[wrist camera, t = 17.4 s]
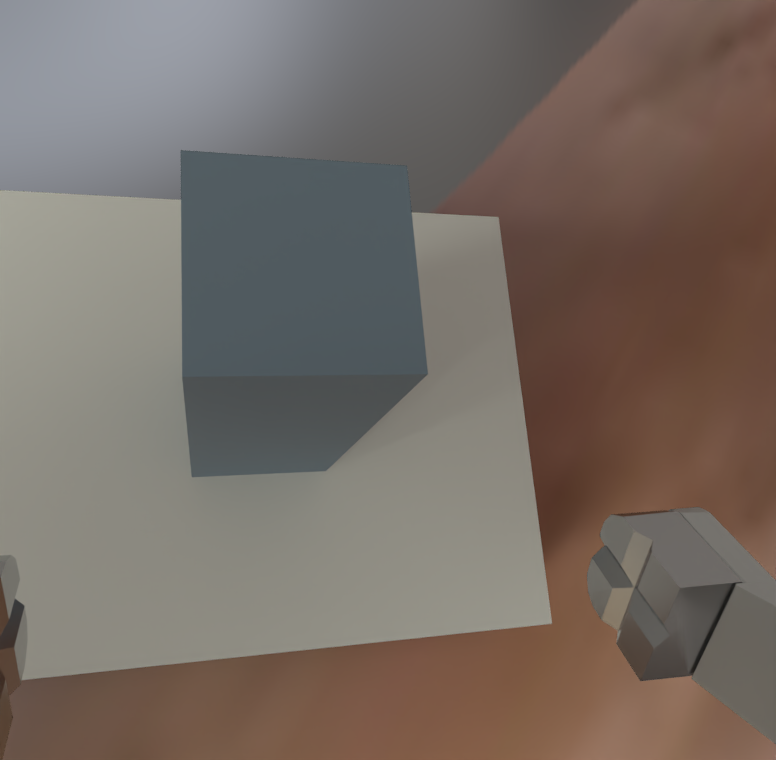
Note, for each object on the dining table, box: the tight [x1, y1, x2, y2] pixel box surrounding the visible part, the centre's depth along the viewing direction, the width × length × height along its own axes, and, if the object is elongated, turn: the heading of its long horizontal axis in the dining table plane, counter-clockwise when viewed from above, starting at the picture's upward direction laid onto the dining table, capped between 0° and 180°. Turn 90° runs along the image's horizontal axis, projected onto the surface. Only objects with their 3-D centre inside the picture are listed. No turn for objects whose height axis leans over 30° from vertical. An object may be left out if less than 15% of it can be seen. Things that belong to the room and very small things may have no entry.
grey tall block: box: [181, 150, 428, 477], centre depth 19 cm, size 4×4×12 cm
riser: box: [0, 190, 552, 680], centre depth 28 cm, size 21×17×7 cm
